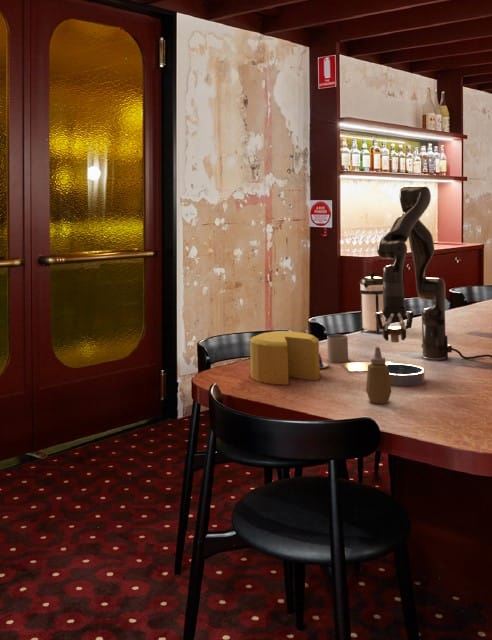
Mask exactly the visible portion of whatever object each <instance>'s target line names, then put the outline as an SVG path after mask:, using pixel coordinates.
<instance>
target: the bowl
mask: <svg viewBox="0 0 492 640" xmlns="http://www.w3.org/2000/svg"><path fill="white" fill-rule="evenodd" d="M386 365H387V366H388V369H389V377H390V384H391V387H392V386H393V387H415V386H420V385H423V384H424V383H425V381H426V379H425V378H426V377H425V369H424V368H423V367H421V366H417V365H413V364H405V363H394V364H386Z"/></svg>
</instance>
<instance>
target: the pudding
mask: <svg viewBox="0 0 492 640" xmlns="http://www.w3.org/2000/svg"><path fill="white" fill-rule="evenodd" d="M327 367H329V364H328V363H326V362H323V359H322V355H321V354H320V353H319V370H321V369H324V368H327Z"/></svg>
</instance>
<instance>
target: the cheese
mask: <svg viewBox="0 0 492 640" xmlns="http://www.w3.org/2000/svg"><path fill="white" fill-rule="evenodd" d="M249 354H250V356H249V357H250V359H249V360H250V377H251V379H253V380H255V381H257V382H259V383H265V384H271V385H289V378H297V379H303V380H311V381H317V380H319V379H320V369H319V354H320V340H319V338H318V337H316V336H315V335H313V334H310V333H307V332H302V331H269V332H262V333H259V334H257V335H254V336H252V337H251V338H250V339H249Z"/></svg>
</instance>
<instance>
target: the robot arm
mask: <svg viewBox="0 0 492 640" xmlns="http://www.w3.org/2000/svg"><path fill="white" fill-rule="evenodd" d="M431 196H432V195H431V191H430V188H429V187H428V186H426V185H403V186H402V187H401V188H400V190H399V203H400V207H401V210H402V214H401V215H400V216H398V217H397V218H396V219H395V221H394V222H393V223H392V225H391V228H390V230H389V231H388V232H387V233H386V234H385V235H384V236H383V237H382V238H381V239H380V240H379V242H378V244H377V247H376V252H377V255H378V257H379V258H380V259H383V260H394V262H393V264H389V265H385V266H384V267H383V268H382V278H383V311H382V312H379V313H378V312H376V313H375V316H376V321H377V325H378V328H380V329H383V330H382V337H383V339H384V340H385V342H388V341H389V334H388V327H390V326H391V324H392V323H395V322H396V323H398V324H399V327H402V334H401V335H400V339H401V341H406V339H407V330H408V329H411V328H412V327H413V326H412V325H413V320H414V312H412V311H410V310H408V311H407V310H406V308H405V287H404V265H405V261H406V257H407V253H408V246H407V244H406V242H407V241H408V243H409V248H410V253H411V257H412V262H413V269H414V275H415V277H414V278H415V286H416V292H417V296H418V298H419V299H420V300H423V301H434V304H433V305H432V306H428V307H426V308H423V309H421V339H422V342H421V348H422V359H424V360H430V361H444V360H448V359H449V354H450V353H452V352H455V353H457V354H458V355H459V356H460V357H461V358H462V359H465V360H473V359H477V358H478V359H479V358H486V357H487V358H491V359H492V354H478V355H474V356H465V355H463V354H462V353H461V351H460V350H459V349H456V348H454V347H453V346H452V345H451V344H449V342H448V335H446V332H447V331H446V288H447V287H446V281H445V280H444V279H443V278H442V277H441V278H440V277H427V276H426V269H427V267H428V265H429V264H430V261H431V260H432V258H433V256H434V253H435V244H434V239H433V235H432V233H431V231H430V230H429V229H428V228H427V227H426V225H425V224H424V223H423V222H422V221H421V220H420V218H421V217H422V216H423V214H424V213H425V212H426V211H427V209H428V207H429V206H430V203H431V200H432V198H431ZM382 315H384V316H385V318H386V319H385V322H384V325H383V326H382V322H381V318H382ZM405 315H406V317H407V318H406V323H405V321H404V319H403V318H404V317H405Z"/></svg>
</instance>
